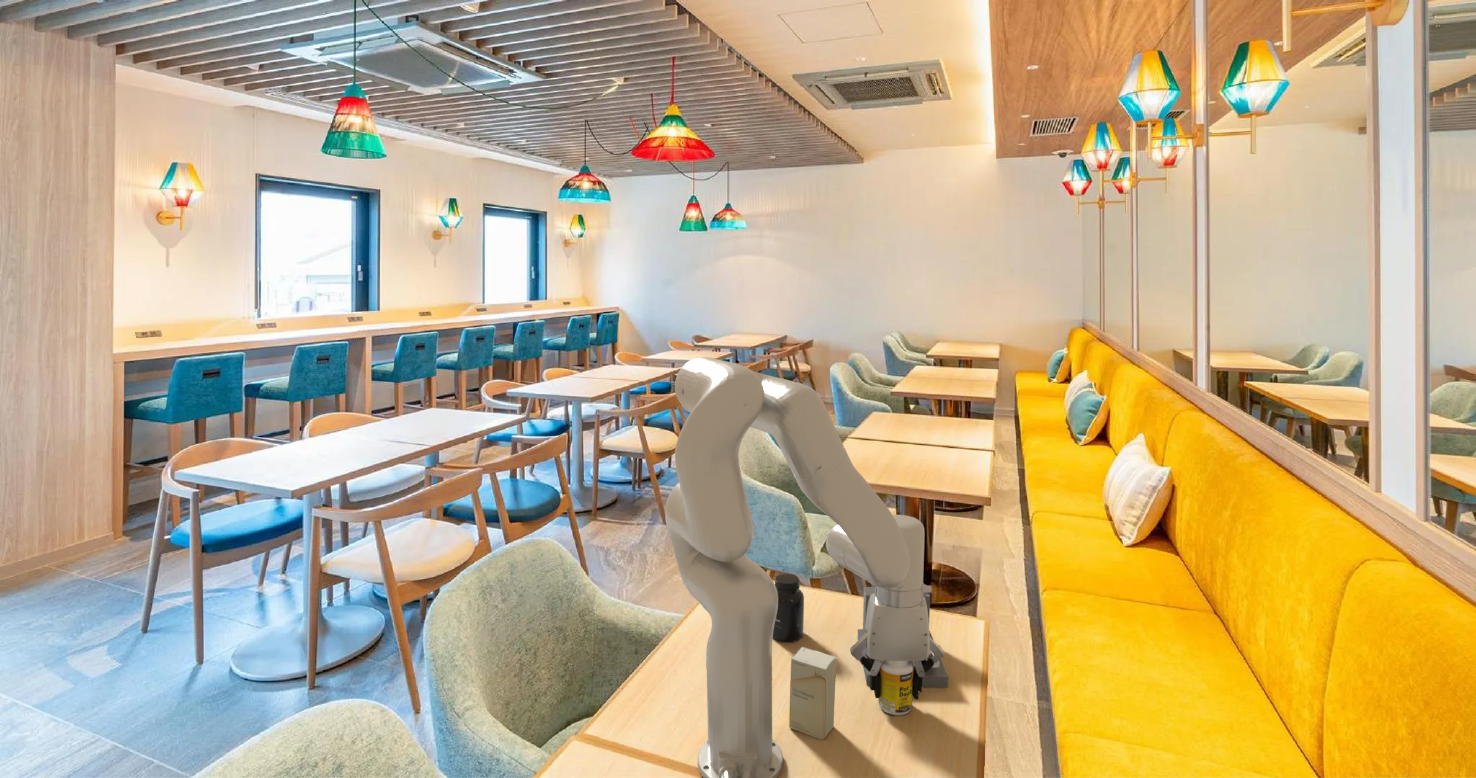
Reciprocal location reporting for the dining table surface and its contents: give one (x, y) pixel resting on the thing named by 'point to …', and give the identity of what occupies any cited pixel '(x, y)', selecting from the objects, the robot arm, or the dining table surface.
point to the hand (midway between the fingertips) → (895, 692)
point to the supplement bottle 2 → (896, 687)
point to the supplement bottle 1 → (789, 609)
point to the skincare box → (812, 692)
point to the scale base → (934, 674)
